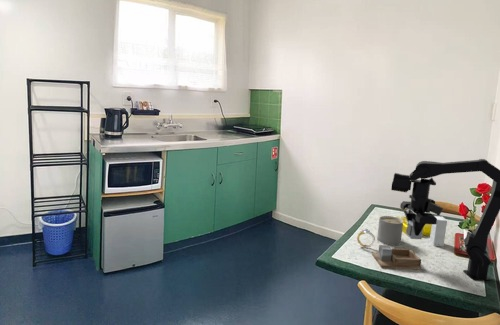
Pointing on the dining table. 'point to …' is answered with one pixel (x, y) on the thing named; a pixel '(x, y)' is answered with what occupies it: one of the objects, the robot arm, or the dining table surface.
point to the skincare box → (438, 231)
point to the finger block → (412, 231)
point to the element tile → (425, 229)
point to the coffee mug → (390, 230)
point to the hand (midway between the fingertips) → (414, 233)
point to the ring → (364, 233)
